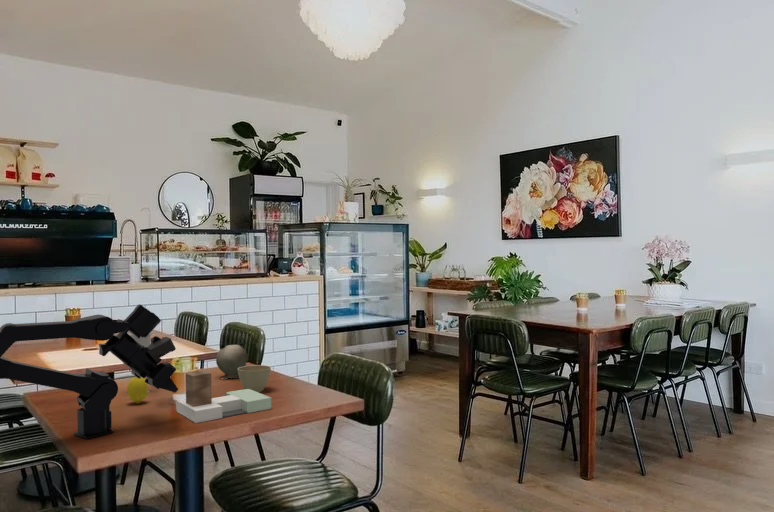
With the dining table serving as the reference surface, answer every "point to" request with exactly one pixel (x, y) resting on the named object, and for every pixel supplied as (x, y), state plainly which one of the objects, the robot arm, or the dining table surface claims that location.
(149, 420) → the dining table surface
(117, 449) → the dining table surface
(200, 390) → the walnut block
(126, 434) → the dining table surface
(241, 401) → the board
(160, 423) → the dining table surface
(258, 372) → the flower pot
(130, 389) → the lemon
